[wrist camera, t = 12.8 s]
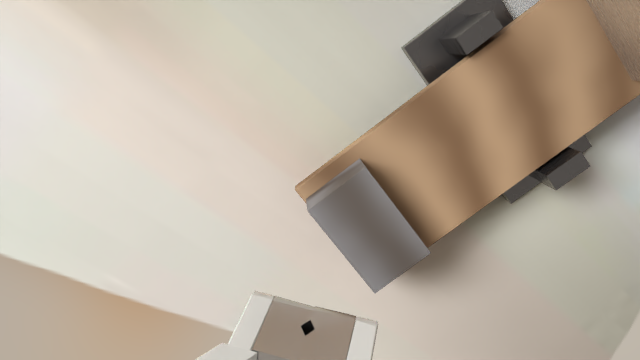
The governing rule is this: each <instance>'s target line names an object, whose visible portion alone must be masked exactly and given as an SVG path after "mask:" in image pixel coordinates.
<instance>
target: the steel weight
mask: <svg viewBox="0 0 640 360" xmlns="http://www.w3.org/2000/svg"><path fill="white" fill-rule="evenodd" d="M586 1H587V2H588V4H589V6H590V8H591V9H592V11H593V13H594V15H595V16H596V18H597V20H598V22H599V23H600V25H601V27H602V29H603V30H604V32H605V34H606V36H607V37H608V39H609V41H610V43H611V44H612V46H613V48H614V50H615V51H616V53H617V55H618V57H619V58H620V60H621V62H622V64H623V65H624V67H625V69H626V71H627V72H628V74H629V76H630V78H631V79H632V80H639V81H640V0H586Z"/></svg>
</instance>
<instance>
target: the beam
mask: <svg viewBox="0 0 640 360" xmlns="http://www.w3.org/2000/svg"><path fill="white" fill-rule="evenodd" d="M638 95H640V81H639V80H632V79H631V78H630V76H629V74H628V72H627V71H626V69H625V67H624V65H623V64H622V62H621V60H620V58H619V57H618V55H617V53H616V51H615V50H614V48H613V46H612V44H611V43H610V41H609V39H608V37H607V36H606V34H605V32H604V30H603V29H602V27H601V25H600V23H599V22H598V20H597V18H596V16H595V15H594V13H593V11H592V9H591V8H590V6H589V4H588V2H587V1H586V0H540V1H539V2H537V3H536V4H535V5H533V6H532V7H531V8H529V9H528V10H527V11H525V12H524V13H523V14H521V15H520V16H519V17H518V18H516V19H515V20H514V21H512V22H511V23H510V24H508V25H507V26H506V27H504V28H503V29H502V30H500V31H499V32H498V33H496V34H495V35H494V36H493V37H491V38H490V39H489V40H487V41H486V42H485V43H483V44H482V45H481V46H479V47H478V48H477V49H475V50H474V51H473V52H471V53H470V54H469V55H467V56H466V57H465V58H464V59H462V60H461V61H460V62H458V63H457V64H456V65H454V66H453V67H452V68H450V69H449V70H448V71H446V72H445V73H444V74H442V75H441V76H440V77H439V78H437V79H436V80H435V81H433V82H432V83H431V84H429V85H428V86H427V87H425V88H424V89H423V90H421V91H420V92H419V93H417V94H416V95H415V96H413V97H412V98H411V99H410V100H408V101H407V102H406V103H404V104H403V105H402V106H400V107H399V108H398V109H396V110H395V111H394V112H392V113H391V114H390V115H388V116H387V117H386V118H385V119H383V120H382V121H381V122H379V123H378V124H377V125H375V126H374V127H373V128H371V129H370V130H369V131H367V132H366V133H365V134H363V135H362V136H361V137H359V138H358V139H357V140H356V141H354V142H353V143H352V144H350V145H349V146H348V147H346V148H345V149H344V150H342V151H341V152H340V153H338V154H337V155H336V156H334V157H333V158H332V159H331V160H329V161H328V162H327V163H325V164H324V165H323V166H321V167H320V168H319V169H317V170H316V171H315V172H313V173H312V174H311V175H309V176H308V177H307V178H305V179H304V180H303V181H302V182H300V183H299V184H298V185H296V186H295V190H296V192H297V193H298V194H299V195H300V197H301V198H302V199H303V200H304V201H305V203H306V204H307V210H308V212H309V213H310V215H311V216H312V217H313V218H314V219H315V221H316V222H317V223H318V224H319V226H320V227H321V228H322V229H323V231H324V232H325V233H326V234H327V235H328V237H329V238H330V239H331V240H332V242H333V243H334V244H335V245H336V246H337V248H338V249H339V250H340V251H341V253H342V254H343V255H344V256H345V258H346V259H347V260H348V261H349V262H350V264H351V265H352V266H353V267H354V269H355V270H356V271H357V272H358V273H359V275H360V276H361V277H362V278H363V280H364V281H365V282H366V283H367V285H368V286H369V287H370V288H371V289H372V291H373V292H374V293H376V292H378V291H379V290H380V289H382V288H383V287H385V286H386V285H387V284H389V283H390V282H391V281H393V280H394V279H396V278H397V277H398V276H400V275H401V274H403V273H404V272H405V271H407V270H408V269H410V268H411V267H412V266H414V265H415V264H416V263H418V262H419V261H421V260H422V259H423V258H425V257H426V256H428V255H429V254H430V253H431V252H430V251H429V250H428V247H429V246H431V245H432V244H433V243H435V242H436V241H438V240H439V239H440V238H442V237H443V236H445V235H446V234H447V233H449V232H450V231H451V230H453V229H454V228H456V227H457V226H458V225H460V224H461V223H463V222H464V221H465V220H467V219H468V218H469V217H471V216H472V215H474V214H475V213H476V212H478V211H479V210H481V209H482V208H483V207H485V206H486V205H487V204H489V203H490V202H492V201H493V200H494V199H496V198H497V197H499V196H500V195H501V194H503V193H504V192H505V191H507V190H508V189H510V188H511V187H512V186H514V185H515V184H517V183H518V182H519V181H521V180H522V179H523V178H525V177H526V176H528V175H529V174H530V173H532V172H533V171H535V170H536V169H537V168H539V167H540V166H541V165H543V164H544V163H546V162H547V161H548V160H550V159H551V158H553V157H554V156H555V155H557V154H558V153H559V152H561V151H562V150H564V149H565V148H566V147H568V146H569V145H571V144H572V143H573V142H575V141H576V140H577V139H579V138H580V137H582V136H583V135H584V134H586V133H587V132H589V131H590V130H591V129H593V128H594V127H595V126H597V125H598V124H600V123H601V122H602V121H604V120H605V119H607V118H608V117H609V116H611V115H612V114H613V113H615V112H616V111H618V110H619V109H620V108H622V107H623V106H625V105H626V104H627V103H629V102H630V101H631V100H633V99H634V98H636V97H637V96H638Z"/></svg>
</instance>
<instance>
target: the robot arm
mask: <svg viewBox="0 0 640 360" xmlns="http://www.w3.org/2000/svg"><path fill="white" fill-rule="evenodd" d="M355 320H356V321H355ZM377 328H378V322H377V321H373V320H369V319H365V318H361V317H356V316H354V315H349V314H345V313H341V312H337V311H332V310H328V309H324V308H320V307H313V306H310V305H306V304H302V303H299V302H295V301H292V300H288V299H284V298H281V297H277V296H272V295H269V294H265V293H261V292H258V291H255V292H254V293H253V294H252V295H251V297H250V299H249V301H248V303H247V305H246V307H245V309H244V311H243V313H242V315H241V318H240V320H239V322H238V324H237V326H236V328H235V330H234V332H233V334H232V336H231V338H230V341H229V343H228V344H224V343H221V344H219V345H218V346H216V347H214V348H213V349H211V350H210V351H208V352H206V353H205V354H203V355H202V356H200V357H199V358H197V359H196V360H372V356H373V351H374V345H375V339H376V334H377Z"/></svg>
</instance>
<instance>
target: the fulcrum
mask: <svg viewBox="0 0 640 360" xmlns="http://www.w3.org/2000/svg"><path fill="white" fill-rule="evenodd" d="M512 21H514V20H513V18H512V17H511V15H510V14H509V12H508V10H507V9H506V7H505V5H504V4H503V2H502V1H501V0H463V1H461V2H460V3H459V4H457V5H456V6H455V7H453V8H452V9H451V10H450V11H448V12H447V13H446V14H444V15H443V16H442V17H440V18H439V19H438V20H437V21H435V22H434V23H433V24H431V25H430V26H429V27H427V28H426V29H425V30H424V31H422V32H421V33H420V34H418V35H417V36H416V37H415V38H413V39H412V40H411V41H409V42H408V43H407V44H405V45H404V46H403V47H402V50H403V51H404V53H405V54H406V56H407V57H408V58H409V60H410V61H411V63H412V64H413V66H414V67H415V69H416V70H417V71H418V73H419V74H420V76H421V77H422V79H423V80H424V82H425V83H426V84H427V86H428V85H429V84H431V83H432V82H433V81H435V80H436V79H437V78H439V77H440V76H441V75H442V74H444V73H445V72H446V71H448V70H449V69H450V68H452V67H453V66H454V65H456V64H457V63H458V62H460V61H461V60H462V59H464V58H465V57H466V56H467V55H469V54H470V53H471V52H473V51H474V50H475V49H477V48H478V47H479V46H481V45H482V44H483V43H485V42H486V41H487V40H489V39H490V38H491V37H493V36H494V35H495V34H496V33H498V32H499V31H500V30H502V29H503V28H504V27H506V26H507V25H508V24H510V23H511V22H512ZM590 147H591V144H590V143H589V141H588V139H587V138H586V136H585V134H584V135H583V136H582V137H580V138H579V139H577V140H576V141H575V142H573V143H572V144H571V145H569V146H568V147H566V148H565V149H564V150H562V151H561V152H559V153H558V154H557V155H555V156H554V157H553V158H551V159H550V160H548V161H547V162H546V163H544V164H543V165H541V166H540V167H539V168H537V169H536V170H535V171H533V172H532V173H530V174H529V175H528V176H526V177H525V178H523V179H522V180H521V181H519V182H518V183H517V184H515V185H514V186H512V187H511V188H510V189H508V190H507V191H505V192H504V193H503V196H504V197H505V199H506V200H507V201H508V202H510V203H512V202H514V201H515V200H516V199H518V198H519V197H521V196H522V195H524V194H525V193H526V192H528V191H529V190H531V189H532V188H533V187H535V186H536V185H538V184H539V183H540V182H542V183H544V184H546V185H548V186H549V187H551V188H553V189H555V190H557V189H559V188H560V187H561V186H563V185H564V184H566V183H567V182H569V181H570V180H571V179H573V178H574V177H576V176H577V175H578V174H580V173H581V172H583V171H584V170H586V169H587V168H588V167H590V165H589V163H588V162H587V160H586V159H585V157H584V155H583V154H582V153H583V152H584V151H586V150H587V149H588V148H590Z"/></svg>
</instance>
